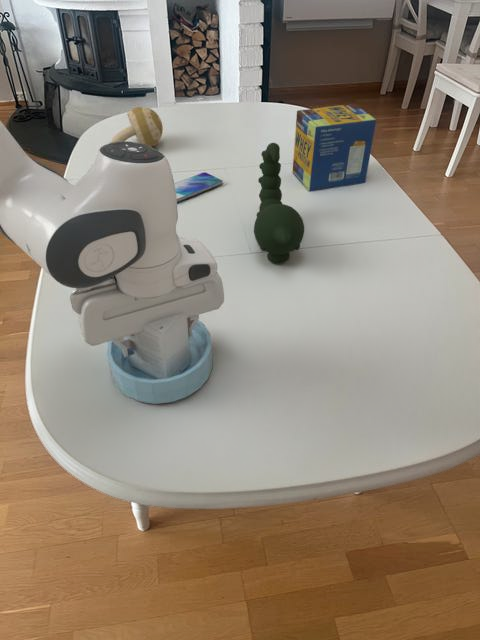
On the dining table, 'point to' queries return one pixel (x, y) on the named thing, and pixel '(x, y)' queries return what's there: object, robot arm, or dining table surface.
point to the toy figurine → (276, 213)
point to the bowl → (167, 389)
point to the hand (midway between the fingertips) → (158, 344)
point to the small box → (162, 347)
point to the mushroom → (142, 127)
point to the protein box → (332, 146)
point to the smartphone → (195, 185)
